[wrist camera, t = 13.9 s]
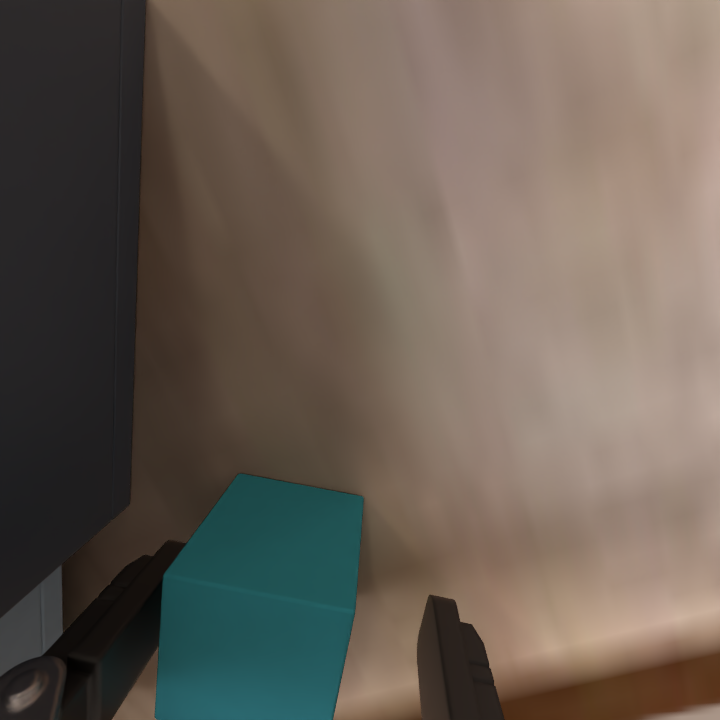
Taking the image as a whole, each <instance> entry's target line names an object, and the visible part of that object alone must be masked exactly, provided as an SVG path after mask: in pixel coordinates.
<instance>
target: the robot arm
mask: <svg viewBox="0 0 720 720" xmlns="http://www.w3.org/2000/svg"><path fill="white" fill-rule="evenodd" d="M186 544H187V543H183V542H178V541H174V540H168V541H166V542H165V543H164V544H163V546H162V547H161V548H160V549H159V550H158V551H157V552H156V554H155V555H154V556H149V555H143V556H142V557H140V558H138V559H137V560H135V561H134V562H132V563H130V564H129V565H127V566H126V567H125V568H124V569H123V570H122V571H121V572H120V573H119V574H118V575H117V576H116V577H115V578H114V580H113V581H112V582H111V584H110V585H108V586H107V587H106V588H105V589H104V590H103V591H102V592H101V593H100V595H99V597H98V598H97V599H95V600H94V601H93V602H92V603H91V604H90V605H89V606H88V607H87V608H86V609H85V611H84V612H83V613H82V614H81V615H80V616H79V617H78V618H77V619H76V620H75V621H74V622H73V623H72V624H71V626H70V627H69V628H68V629H67V630H66V631H65V632H64V633H63V634H62V635H61V636H60V637H59V638H58V639H57V641H56V642H55V643H54V644H53V645H52V646H51V647H50V648H49V649H48V650H47V651H46V652H45V653H44V654H43V655H42V656H40V657H36V658H32V659H29V660H27V661H24V662H22V663H20V664H18V665H16V666H15V667H13V668H11V669H10V670H8V671H7V672H5V673H4V674H3V675H2V676H0V720H112V718H113V717H114V715H115V713H116V712H117V710H118V709H119V707H120V706H121V704H122V702H123V701H124V699H125V698H126V696H127V695H128V693H129V691H130V690H131V688H132V687H133V685H134V684H135V682H136V680H137V679H138V677H139V676H140V674H141V673H142V671H143V669H144V668H145V666H146V665H147V663H148V662H149V660H150V658H151V657H152V655H153V654H154V652H155V651H156V649H157V647H158V646H159V634H160V616H161V599H162V582H163V575H164V573H165V572H166V570H167V569H168V568H169V566H170V565H171V564H172V562H173V561H174V560H175V558H176V557H177V556H178V554H179V553H180V552H181V550H182V549H183V548H184V546H185V545H186ZM417 665H418V677H419V689H420V702H421V714H422V720H504V716H503V713H502V709H501V705H500V702H499V698H498V694H497V691H496V687H495V686H494V680H493V676H492V672H491V669H490V668H489V661H488V658H487V654H486V650H485V646H484V643H483V642H482V640H481V638H480V637H479V635H478V633H477V632H476V630H475V629H474V627H473V625H472V624H468V623H463V622H460V618H459V614H458V609H457V605H456V602H455V600H453V599H448V598H444V597H439V596H434V595H429V597H428V600H427V604H426V608H425V611H424V615H423V619H422V623H421V627H420V631H419V635H418V643H417Z"/></svg>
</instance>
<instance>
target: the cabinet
mask: <svg viewBox="0 0 720 720" xmlns="http://www.w3.org/2000/svg"><path fill="white" fill-rule="evenodd" d="M144 32H145V0H0V618H2V617H3V616H4V615H5V614H6V613H7V612H8V611H10V610H11V609H12V608H13V607H14V606H15V605H16V604H17V603H19V602H20V601H21V600H22V599H23V598H24V597H25V596H27V595H28V594H29V593H30V592H31V591H32V590H33V589H34V588H36V587H37V586H38V585H39V584H40V583H41V582H42V581H44V580H45V579H46V578H47V577H48V576H49V575H50V574H51V573H53V572H54V571H55V570H56V569H57V568H58V567H59V566H61V565H62V564H63V563H64V562H65V561H66V560H67V559H68V558H70V557H71V556H72V555H73V554H74V553H75V552H76V551H77V550H79V549H80V548H81V547H82V546H83V545H84V544H85V543H87V542H88V541H89V540H90V539H91V538H92V537H93V536H94V535H96V534H97V533H98V532H99V531H100V530H101V529H102V528H104V527H105V526H106V525H107V524H108V523H109V522H110V521H111V520H112V519H114V518H115V517H116V516H117V515H118V514H120V513H121V512H122V511H123V510H124V509H125V508H126V507H128V506H129V504H130V475H131V444H132V412H133V380H134V349H135V317H136V285H137V254H138V222H139V190H140V159H141V127H142V95H143V64H144Z"/></svg>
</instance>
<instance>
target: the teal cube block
mask: <svg viewBox="0 0 720 720" xmlns="http://www.w3.org/2000/svg"><path fill="white" fill-rule="evenodd" d="M363 502H364V498H363V497H362V496H358V495H353V494H348V493H342V492H337V491H332V490H326V489H321V488H316V487H310V486H305V485H300V484H294V483H289V482H284V481H278V480H273V479H268V478H263V477H257V476H252V475H247V474H241V473H240V474H238V475H237V476H236V478H235V479H234V480H233V482H232V483H231V484H230V486H229V487H228V488H227V490H226V491H225V492H224V494H223V495H222V496H221V498H220V499H219V500H218V502H217V503H216V505H215V506H214V507H213V509H212V510H211V511H210V513H209V514H208V515H207V517H206V518H205V519H204V521H203V522H202V523H201V525H200V526H199V527H198V529H197V530H196V531H195V533H194V534H193V535H192V537H191V538H190V539H189V541H188V542H187V544H186V545H185V546H184V548H183V549H182V550H181V552H180V553H179V554H178V556H177V557H176V558H175V560H174V561H173V562H172V564H171V565H170V566H169V568H168V569H167V570H166V572H165V573H164V575H163V582H162V599H161V616H160V634H159V651H158V668H157V685H156V702H155V719H157V720H333V717H334V712H335V707H336V702H337V698H338V693H339V688H340V683H341V678H342V673H343V669H344V664H345V659H346V654H347V649H348V645H349V640H350V635H351V630H352V625H353V621H354V616H355V609H356V595H357V582H358V569H359V556H360V542H361V529H362V516H363Z"/></svg>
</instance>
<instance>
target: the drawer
mask: <svg viewBox="0 0 720 720" xmlns="http://www.w3.org/2000/svg"><path fill="white" fill-rule="evenodd" d="M62 634H63V614H62V565H61V566H59V567H58V568H57V569H56V570H55V571H54V572H53V573H51V574H50V575H49V576H48V577H47V578H46V579H45V580H44V581H42V582H41V583H40V584H39V585H38V586H37V587H36V588H34V589H33V590H32V591H31V592H30V593H29V594H28V595H27V596H25V597H24V598H23V599H22V600H21V601H20V602H19V603H17V604H16V605H15V606H14V607H13V608H12V609H11V610H10V611H8V612H7V613H6V614H5V615H4V616H3V617H2V618H0V676H2V675H3V674H4V673H5V672H7V671H8V670H10V669H11V668H13V667H15V666H16V665H18V664H20V663H22V662H24V661H27V660H29V659H32V658H36V657H40V656H42V655H43V654H44V653H45V652H46V651H47V650H48V649H49V648H50V647H51V646H52V645H53V644H54V643H55V642H56V641H57V639H58V638H59V637H60V636H61V635H62Z"/></svg>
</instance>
